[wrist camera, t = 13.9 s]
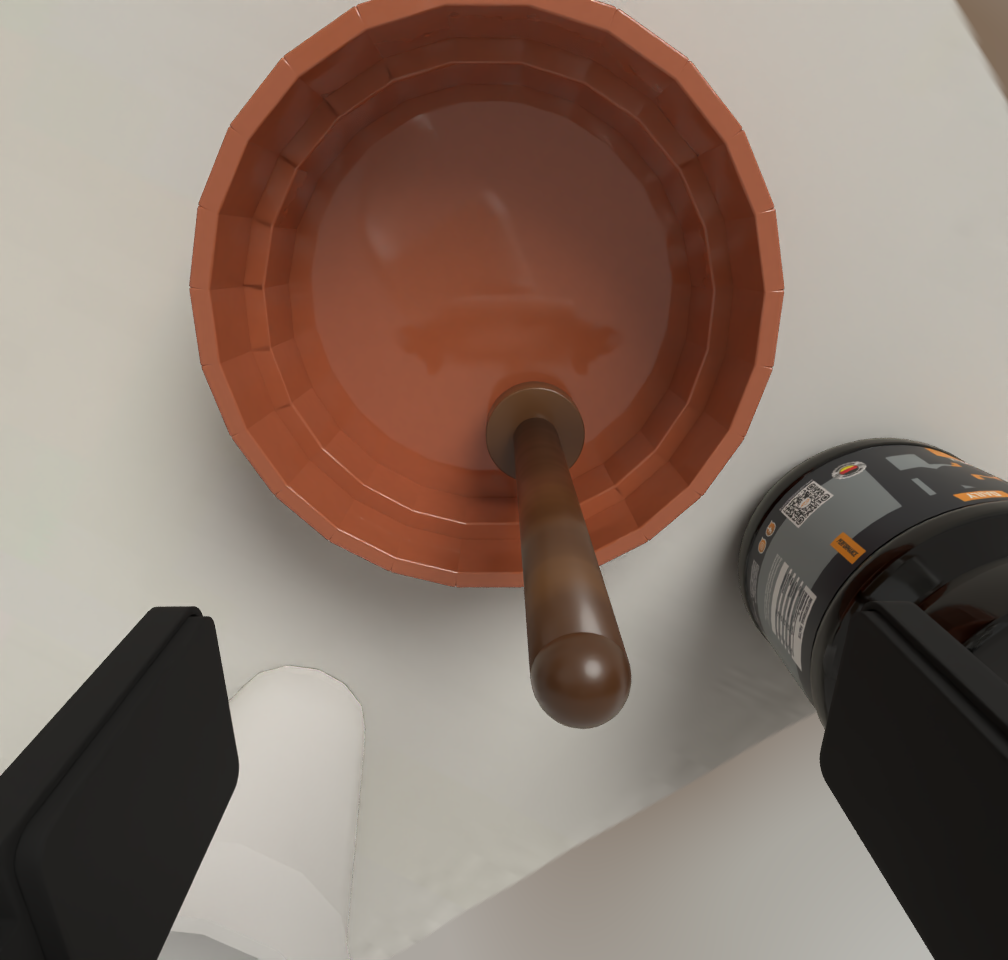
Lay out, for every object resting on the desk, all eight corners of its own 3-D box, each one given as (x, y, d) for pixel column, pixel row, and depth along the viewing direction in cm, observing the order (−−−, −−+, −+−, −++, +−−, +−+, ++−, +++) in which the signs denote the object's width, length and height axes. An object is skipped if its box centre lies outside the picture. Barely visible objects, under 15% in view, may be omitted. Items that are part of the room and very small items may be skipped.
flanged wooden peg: (471, 401, 24) (426, 649, 9) (562, 366, 24) (669, 567, 9) (506, 485, 26) (516, 828, 10) (593, 453, 25) (735, 763, 10)
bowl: (169, 309, 25) (71, 327, 19) (489, -84, 21) (485, -208, 15) (491, 593, 29) (489, 676, 23) (809, 311, 25) (900, 330, 19)
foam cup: (407, 793, 33) (352, 1120, 20) (223, 804, 33) (60, 1135, 21) (382, 629, 30) (300, 901, 17) (179, 642, 30) (-46, 920, 17)
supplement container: (1013, 570, 29) (1347, 780, 17) (798, 689, 31) (973, 946, 19) (913, 377, 26) (1236, 478, 14) (683, 522, 28) (810, 711, 17)
